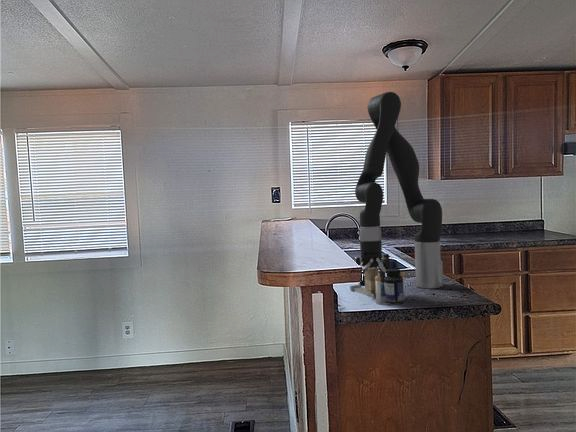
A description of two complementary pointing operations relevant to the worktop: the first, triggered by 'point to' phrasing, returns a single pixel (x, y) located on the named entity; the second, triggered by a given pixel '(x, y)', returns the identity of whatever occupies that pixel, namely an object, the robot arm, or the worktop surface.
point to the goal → (378, 287)
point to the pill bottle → (393, 287)
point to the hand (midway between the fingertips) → (372, 284)
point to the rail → (361, 290)
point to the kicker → (372, 281)
